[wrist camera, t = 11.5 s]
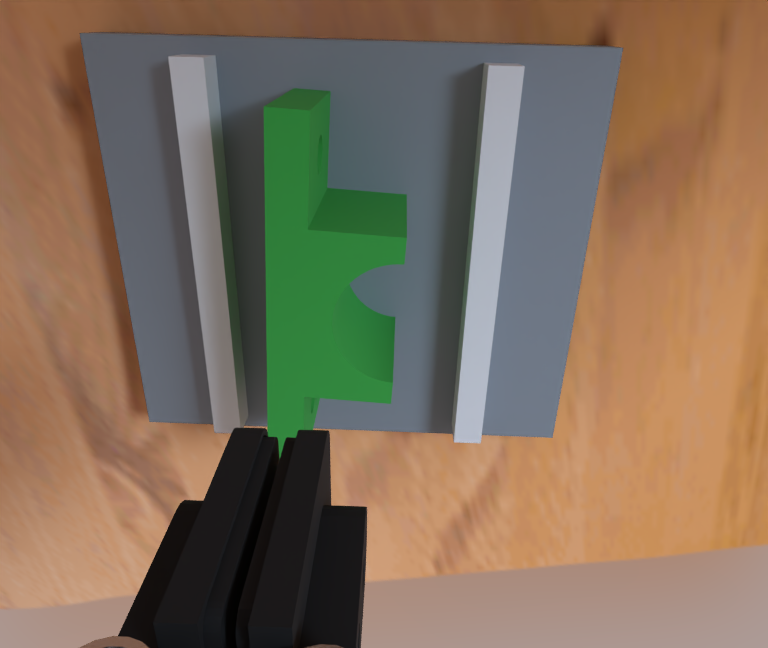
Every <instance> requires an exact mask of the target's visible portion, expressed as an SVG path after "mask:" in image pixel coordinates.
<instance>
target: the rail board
mask: <svg viewBox="0 0 768 648" xmlns="http://www.w3.org/2000/svg"><path fill="white" fill-rule="evenodd" d="M80 38H81V44H82V49H83V55H84V60H85V66H86V72H87V77H88V83H89V88H90V94H91V99H92V105H93V110H94V116H95V122H96V127H97V133H98V138H99V144H100V149H101V155H102V160H103V166H104V172H105V177H106V183H107V188H108V194H109V199H110V205H111V210H112V216H113V222H114V227H115V233H116V238H117V244H118V249H119V255H120V260H121V266H122V272H123V277H124V283H125V288H126V294H127V299H128V305H129V310H130V316H131V322H132V327H133V333H134V338H135V344H136V349H137V355H138V360H139V366H140V372H141V377H142V383H143V388H144V394H145V399H146V405H147V410H148V416H149V422H168V423H194V424H214V432H215V433H232V431H233V430H234V428H236V427H237V428H243V427H244V426H268V425H267V343H266V262H265V181H264V106H265V105H267V104H269V103H270V102H272V101H274V100H275V99H277V98H279V97H280V96H282V95H284V94H285V93H287V92H289V91H290V90H292V89H293V88H299V89H311V90H323V91H331V96H330V125H329V154H328V184H327V188H335V189H347V190H359V191H371V192H383V193H395V194H407V243H406V253H405V263H404V265H400V264H396V265H386V266H381V267H377V268H374V269H372V270H369V271H367V272H365V273H363V274H361V275H360V276H358V277H357V278H355V279H354V280H353V281H352V282H351V283H350V286H351V288H352V290H353V292H354V293H355V295H356V296H357V298H358V299H359V300H360V301H361V302H362V303H363V304H364V305H366V306H367V307H369V308H370V309H372V310H373V311H376V312H378V313H380V314H383V315H387V316H392V317H395V341H394V369H393V388H392V398H391V404H386V403H373V402H361V401H349V400H337V399H324V398H320V401H319V405H318V410H317V414H316V418H315V423H314V427H313V428H321V429H346V430H372V431H397V432H422V433H448V434H453V439H454V442H461V443H481V436H482V435H499V436H524V437H549V438H553V432H554V427H555V421H556V415H557V410H558V404H559V399H560V393H561V388H562V382H563V377H564V371H565V366H566V360H567V355H568V349H569V344H570V338H571V333H572V327H573V322H574V316H575V311H576V305H577V300H578V294H579V289H580V283H581V278H582V272H583V267H584V261H585V255H586V250H587V244H588V239H589V233H590V228H591V222H592V217H593V211H594V206H595V200H596V195H597V189H598V184H599V178H600V173H601V167H602V162H603V156H604V151H605V145H606V140H607V134H608V129H609V123H610V118H611V112H612V107H613V101H614V95H615V90H616V84H617V79H618V73H619V68H620V62H621V57H622V51H623V48H621V47H613V46H595V45H558V44H521V43H484V42H447V41H410V40H373V39H336V38H299V37H263V36H226V35H189V34H152V33H115V32H94V33H80Z"/></svg>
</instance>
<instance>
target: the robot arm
mask: <svg viewBox="0 0 768 648" xmlns="http://www.w3.org/2000/svg"><path fill="white" fill-rule="evenodd" d="M366 542H367V507H358V506H331V476H330V434H329V431H323V430H298V432H297V436H296V438H292V437H287V438H286V439H285V442H284V446H283V449H282V453H281V457H280V459H279V444H278V438H277V437H268V432H267V430H266V429H265V428H237V427H236V428H234V430H233V431H232V434H231V436H230V439H229V441H228V443H227V446H226V448H225V451H224V453H223V455H222V458H221V460H220V463H219V465H218V467H217V470H216V472H215V475H214V477H213V479H212V482H211V484H210V487H209V489H208V491H207V494H206V496H205V499H204V501H193V500H184V501H183V502H182V503H180V505H179V507H178V508H177V510H176V512H175V514H174V516H173V519H172V521H171V523H170V525H169V527H168V529H167V532H166V534H165V536H164V538H163V540H162V542H161V544H160V547H159V549H158V551H157V553H156V555H155V557H154V560H153V562H152V564H151V566H150V568H149V570H148V572H147V575H146V577H145V579H144V581H143V583H142V585H141V588H140V590H139V592H138V594H137V596H136V598H135V600H134V603H133V605H132V607H131V609H130V611H129V613H128V616H127V618H126V620H125V622H124V624H123V627H122V628H121V631H120V633H119V635H118V636H112V637H107V638H103V639H99V640H95V641H92V642H91V643H88V644H86V645H84V646H82V647H80V648H361V634H362V619H363V603H364V587H365V570H366Z"/></svg>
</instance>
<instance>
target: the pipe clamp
mask: <svg viewBox="0 0 768 648" xmlns="http://www.w3.org/2000/svg"><path fill="white" fill-rule="evenodd" d="M330 96H331V91H323V90H311V89H299V88H293V89H292V90H290V91H289V92H287V93H285V94H284V95H282V96H280V97H279V98H277V99H275V100H274V101H272V102H270V103H269V104H267V105H265V106H264V181H265V262H266V343H267V425H268V437H277V438H278V444H279V459H280V457H281V453H282V449H283V446H284V442H285V439H286V438H287V437H292V438H296V436H297V432H298V430H313V427H314V423H315V418H316V414H317V410H318V405H319V401H320V398H324V399H337V400H349V401H361V402H373V403H386V404H391V398H392V388H393V369H394V341H395V317H392V316H387V315H383V314H380V313H378V312H376V311H373V310H372V309H370V308H369V307H367V306H366V305H364V304H363V303H362V302H361V301H360V300H359V299H358V298H357V296H356V295H355V293H354V292H353V290H352V288H351V286H350V283H351V282H352V281H353V280H354V279H355V278H357V277H358V276H360V275H361V274H363V273H365V272H367V271H369V270H372V269H374V268H377V267H381V266H386V265H396V264H400V265H404V263H405V253H406V243H407V194H395V193H383V192H371V191H359V190H347V189H335V188H327V184H328V154H329V125H330Z"/></svg>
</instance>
